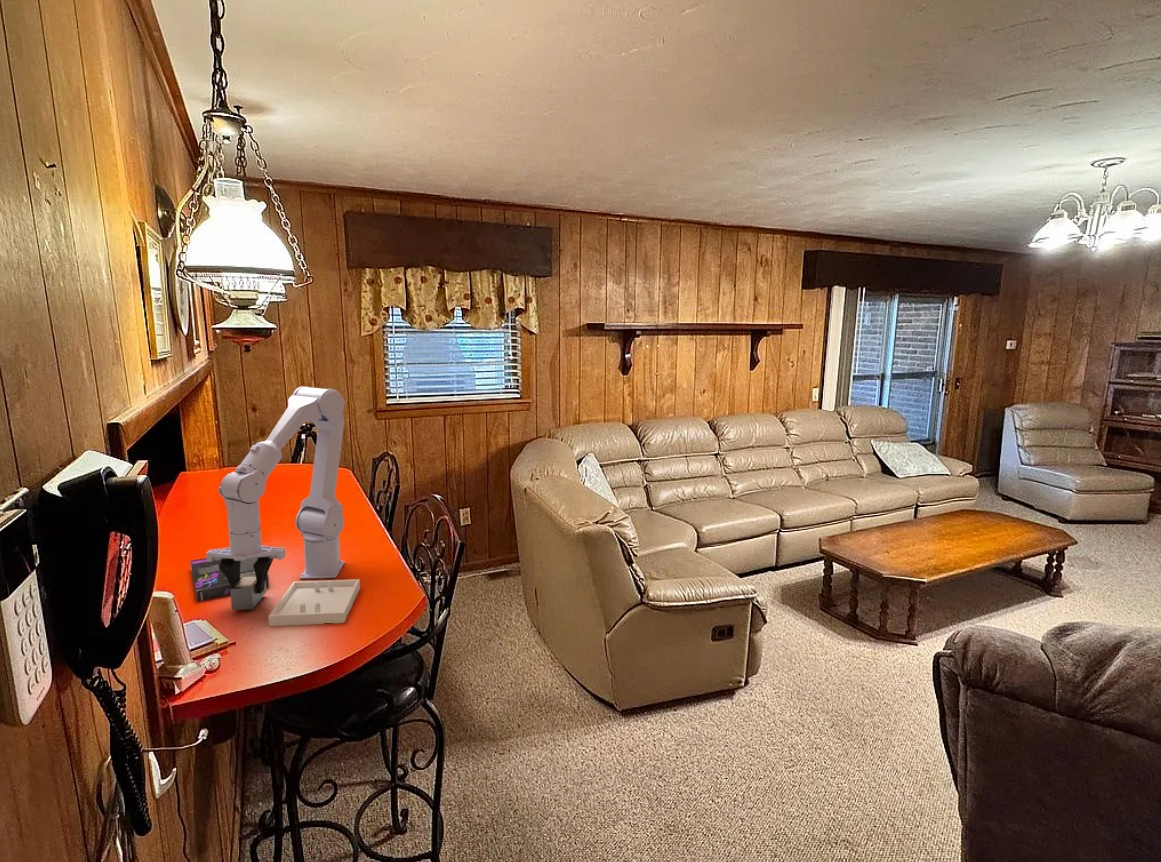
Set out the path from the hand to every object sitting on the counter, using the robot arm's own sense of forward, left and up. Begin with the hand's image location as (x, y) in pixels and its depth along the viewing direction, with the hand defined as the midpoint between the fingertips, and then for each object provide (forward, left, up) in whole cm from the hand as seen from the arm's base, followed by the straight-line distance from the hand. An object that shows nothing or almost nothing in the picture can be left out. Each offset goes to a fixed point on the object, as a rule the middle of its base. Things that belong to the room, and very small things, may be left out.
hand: (249, 591), depth 126 cm
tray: (+2, +14, -3) cm, 14 cm away
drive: (0, 0, -2) cm, 2 cm away
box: (-14, -9, -4) cm, 17 cm away
